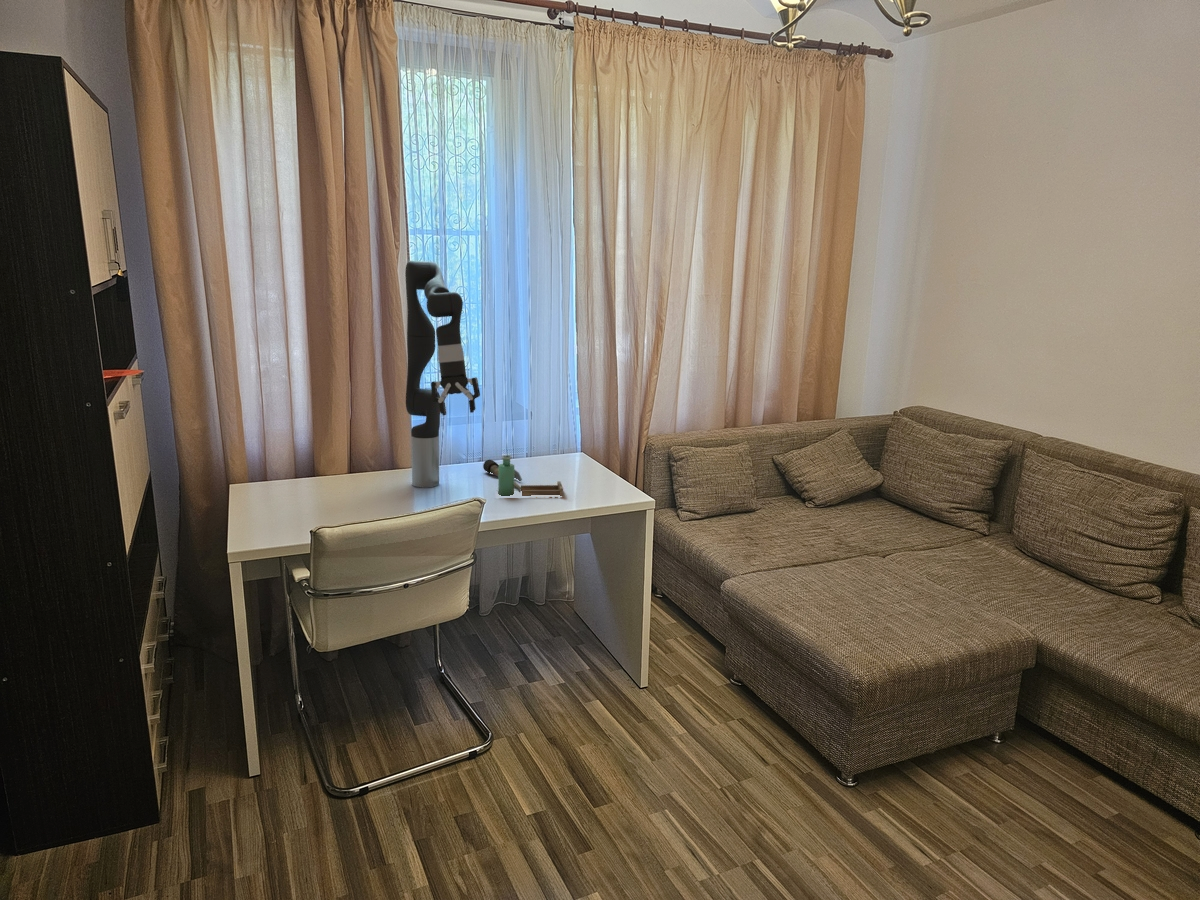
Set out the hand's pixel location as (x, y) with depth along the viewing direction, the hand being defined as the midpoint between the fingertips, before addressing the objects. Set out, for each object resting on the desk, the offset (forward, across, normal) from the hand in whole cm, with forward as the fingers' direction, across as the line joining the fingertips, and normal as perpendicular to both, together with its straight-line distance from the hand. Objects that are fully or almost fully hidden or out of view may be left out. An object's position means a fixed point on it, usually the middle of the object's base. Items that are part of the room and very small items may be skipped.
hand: (458, 413), depth 248 cm
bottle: (+30, -8, -21) cm, 37 cm away
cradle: (+32, -14, -23) cm, 41 cm away
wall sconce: (+29, -5, -39) cm, 49 cm away
